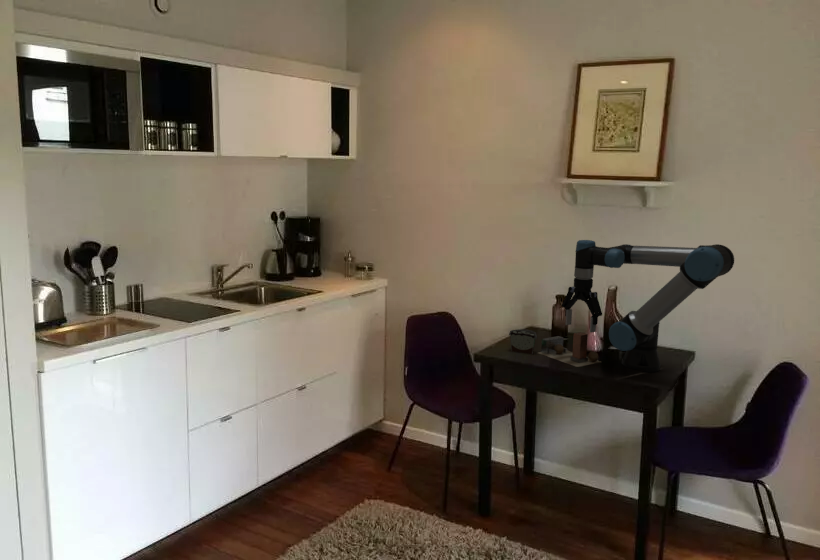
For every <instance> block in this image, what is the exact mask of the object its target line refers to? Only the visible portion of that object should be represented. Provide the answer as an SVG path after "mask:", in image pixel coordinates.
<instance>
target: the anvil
mask: <svg viewBox="0 0 820 560" xmlns="http://www.w3.org/2000/svg"><path fill="white" fill-rule="evenodd" d="M557 344H560V345H562V346H563V347H564V337H563V336H561V335H557V336H552V337H545V338H541V347H540V349H541V350H540V352H542V353H545V354H551V355H553V356H556V351H555V350H554V347H555V345H557ZM567 351H568V348H566V347H564V351H563V352H562V353H565V354H566V353H567Z"/></svg>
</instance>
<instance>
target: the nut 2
mask: <svg viewBox="0 0 820 560" xmlns="http://www.w3.org/2000/svg"><path fill="white" fill-rule="evenodd" d="M587 357H588V358H589V360H590V361H593V362H594V361H597V360H598V361H599V354H598V352H596V351H595V350H594V351H590V352H589V353H588V354H587Z"/></svg>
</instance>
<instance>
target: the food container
mask: <svg viewBox="0 0 820 560" xmlns="http://www.w3.org/2000/svg"><path fill="white" fill-rule="evenodd" d="M509 331H510V332H509V334H508V336H509V337H510V339H509V340H510V351H511V352H515V353H522V354H527V355H533V354H534V351H535V350H534V349H535V343H536V340H537V338H538V336H537V333H536V332H535V331H534V330H529V329H523V328H522V329H512V330H509Z"/></svg>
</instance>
